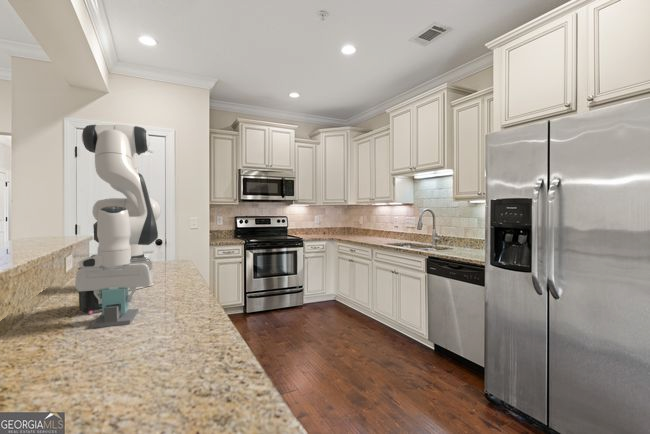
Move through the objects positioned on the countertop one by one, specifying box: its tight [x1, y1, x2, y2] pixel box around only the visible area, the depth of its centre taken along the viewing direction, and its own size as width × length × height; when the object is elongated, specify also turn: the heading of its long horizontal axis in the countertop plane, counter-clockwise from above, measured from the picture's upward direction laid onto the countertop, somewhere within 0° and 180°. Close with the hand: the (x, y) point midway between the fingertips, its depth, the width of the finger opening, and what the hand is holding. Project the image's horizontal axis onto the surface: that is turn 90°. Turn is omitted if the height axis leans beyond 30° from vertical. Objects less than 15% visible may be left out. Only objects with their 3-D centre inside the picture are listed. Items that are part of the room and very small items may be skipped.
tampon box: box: [77, 267, 102, 315], centre depth 115 cm, size 11×9×15 cm
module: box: [101, 287, 130, 315], centre depth 103 cm, size 6×6×8 cm
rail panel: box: [90, 304, 139, 329], centre depth 103 cm, size 12×10×6 cm
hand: (115, 302), depth 103 cm, fingers open, 6 cm apart
